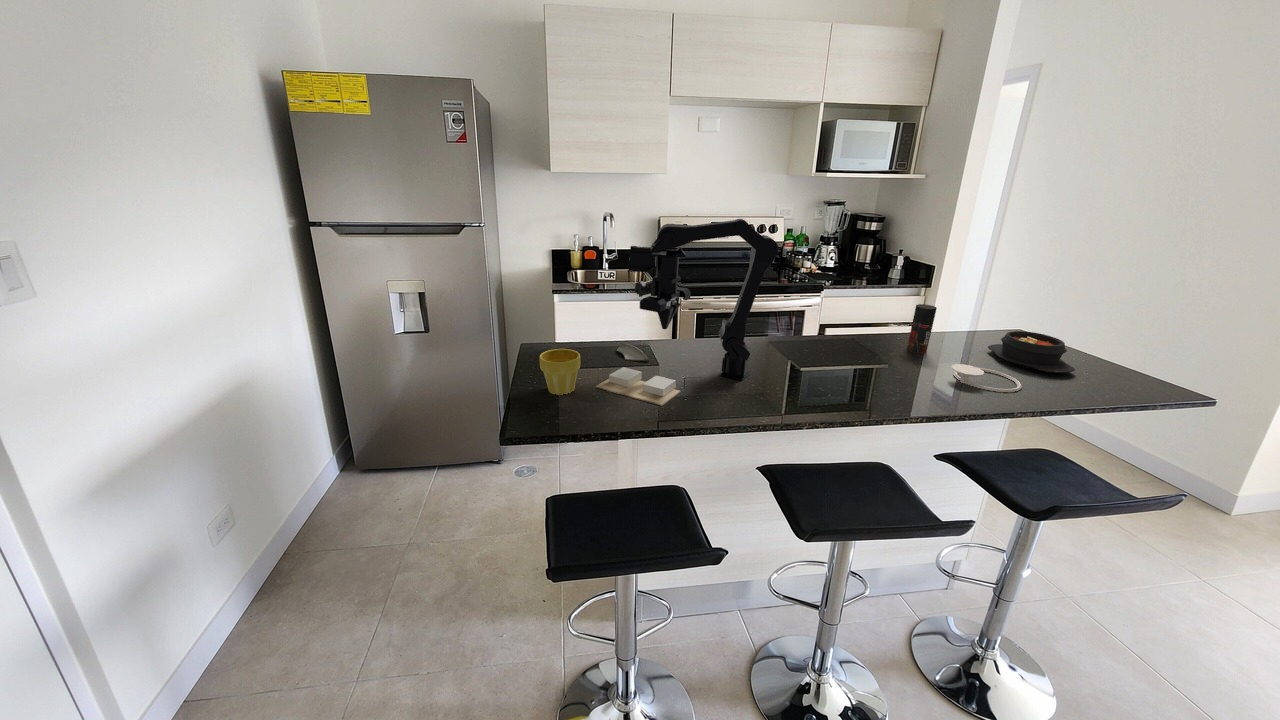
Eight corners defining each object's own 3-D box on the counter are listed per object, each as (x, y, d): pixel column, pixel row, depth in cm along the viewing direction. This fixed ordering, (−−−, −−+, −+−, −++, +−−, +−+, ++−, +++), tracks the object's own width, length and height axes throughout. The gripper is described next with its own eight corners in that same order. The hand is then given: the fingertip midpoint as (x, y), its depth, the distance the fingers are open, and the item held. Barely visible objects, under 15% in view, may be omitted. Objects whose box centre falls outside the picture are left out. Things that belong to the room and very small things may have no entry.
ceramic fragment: (650, 362, 161) (650, 350, 159) (637, 366, 157) (637, 354, 156) (620, 351, 171) (621, 339, 169) (608, 354, 167) (608, 342, 166)
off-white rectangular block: (641, 371, 146) (628, 380, 140) (641, 379, 147) (627, 387, 141) (623, 367, 149) (609, 375, 143) (623, 374, 150) (609, 382, 144)
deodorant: (911, 346, 181) (921, 303, 175) (929, 351, 176) (939, 307, 171) (903, 349, 177) (912, 305, 172) (921, 355, 173) (931, 310, 168)
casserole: (1089, 376, 159) (1099, 350, 156) (1038, 380, 155) (1047, 353, 152) (1017, 348, 182) (1024, 325, 179) (971, 351, 178) (977, 327, 175)
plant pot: (533, 388, 140) (531, 353, 137) (567, 379, 146) (566, 345, 143) (554, 402, 133) (553, 365, 129) (588, 391, 139) (588, 356, 135)
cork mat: (680, 392, 140) (680, 390, 140) (662, 406, 132) (662, 404, 132) (616, 375, 150) (616, 374, 150) (595, 387, 142) (595, 386, 142)
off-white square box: (675, 380, 141) (663, 389, 135) (675, 387, 142) (662, 397, 136) (656, 375, 144) (642, 384, 138) (655, 382, 145) (642, 391, 139)
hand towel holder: (1040, 376, 147) (981, 382, 142) (1036, 391, 148) (976, 397, 143) (988, 355, 162) (932, 359, 157) (984, 368, 164) (929, 373, 158)
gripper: (657, 264, 154) (655, 316, 160) (622, 274, 139) (621, 332, 145) (692, 269, 149) (689, 322, 154) (660, 280, 134) (657, 339, 139)
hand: (664, 328), depth 148 cm, fingers closed
